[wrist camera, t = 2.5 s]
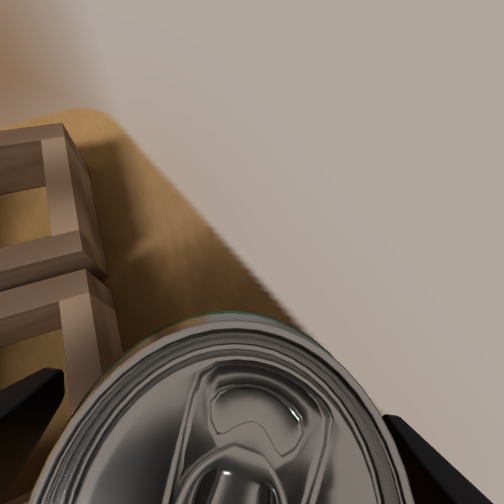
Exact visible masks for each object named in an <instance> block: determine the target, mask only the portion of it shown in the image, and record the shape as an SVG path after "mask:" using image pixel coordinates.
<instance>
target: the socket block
mask: <svg viewBox="0 0 504 504" xmlns="http://www.w3.org/2000/svg"><path fill="white" fill-rule="evenodd" d="M42 186H46V189H47V198H48V207H49V216H50V225H51V234H52V236H50V237H46V238H42V239H37V240H33V241H29V242H25V243H20V244H16V245H12V246H8V247H3V248H0V348H1V347H4V346H7V345H10V344H13V343H16V342H19V341H22V340H26V339H29V338H32V337H35V336H38V335H41V334H44V333H47V332H50V331H54V330H57V329H60V328H62V332H63V341H64V350H65V359H66V368H67V377H68V386H69V395H70V404H71V413H72V415H73V413H74V411H75V410H76V408H77V407H78V405H79V403H80V402H81V400H82V399H83V397H84V396H85V395H86V393H87V392H88V391H89V390H90V388H91V387H92V386H93V385H94V383H95V382H96V381H97V380H98V378H99V377H100V376H101V375H102V373H103V372H104V371H105V370H107V369H108V368H109V367H110V366H111V365H112V364H113V363H114V362H115V361H116V360H117V359H118V358H119V357H120V356H121V355H122V354H123V350H122V344H121V339H120V334H119V329H118V324H117V318H116V313H115V308H114V303H113V298H112V292H111V291H110V290H109V289H108V288H107V287H106V286H104V285H103V284H102V283H101V282H100V281H99V280H98V279H100V278H104V277H107V276H108V272H107V266H106V261H105V256H104V251H103V246H102V240H101V235H100V230H99V225H98V220H97V214H96V209H95V204H94V199H93V194H92V188H91V183H90V178H89V173H88V168H87V164H86V163H85V161H84V159H83V157H82V156H81V154H80V152H79V151H78V149H77V147H76V146H75V144H74V142H73V140H72V139H71V137H70V135H69V134H68V132H67V130H66V129H65V127H64V125H63V123H57V124H49V125H42V126H34V127H27V128H19V129H12V130H4V131H0V194H5V193H10V192H16V191H21V190H26V189H32V188H37V187H42ZM31 492H32V491H29V492H27V493H25V494H23V495H21V496H19V497H16V498H14V499H12V500H10V501H8V502H6V503H3V504H27V503H28V500H29V497H30V494H31Z"/></svg>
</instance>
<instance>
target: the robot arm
mask: <svg viewBox="0 0 504 504" xmlns="http://www.w3.org/2000/svg"><path fill="white" fill-rule="evenodd" d="M64 394H65V387H64V373H63V371H62V370H61V369H56V368H49V367H48V368H43V369H41V370H39V371H37V372H35V373H33V374H31V375H30V376H28V377H26V378H24V379H22V380H20V381H18V382H16V383H14V384H12V385H10V386H8V387H6V388H5V389H3V390H1V391H0V500H1V499H2V497H3V496H4V495H5V493H6V492H7V490H8V489H9V487H10V486H11V485H12V483H13V482H14V480H15V479H16V477H17V476H18V474H19V473H20V471H21V470H22V468H23V467H24V465H25V464H26V462H27V460H28V459H29V457H30V456H31V454H32V452H33V450H34V449H35V447H36V445H37V444H38V442H39V440H40V438H41V437H42V435H43V433H44V432H45V430H46V428H47V426H48V425H49V423H50V421H51V420H52V418H53V416H54V414H55V413H56V411H57V409H58V408H59V406H60V404H61V402H62V400H63V398H64ZM382 418H383V420H384V422H385V424H386V426H387V428H388V430H389V432H390V434H391V435H392V437H393V439H394V442H395V444H396V447H397V450H398V452H399V455H400V457H401V460H402V462H403V465H404V467H405V470H406V474H407V477H408V481H409V485H410V488H411V492H412V496H413V499H414V503H415V504H493V503H492V502H491V501H490V500H489V499H488V498H487V497H485V496H484V495H483V494H482V493H481V492H480V491H479V490H478V489H477V488H476V487H475V486H474V485H473V484H472V483H471V482H469V481H468V480H467V479H466V478H465V477H464V476H463V475H462V474H461V473H460V472H459V471H458V470H456V469H455V468H454V467H453V466H452V465H451V464H450V463H449V462H448V461H447V460H446V459H445V458H444V457H443V456H441V455H440V454H439V453H438V452H437V451H436V450H435V449H434V448H433V447H432V446H431V445H429V444H428V443H427V442H426V441H425V440H424V439H423V438H422V437H421V436H420V435H419V434H418V433H417V432H416V431H415V430H413V429H412V428H411V427H410V426H409V425H408V424H407V423H406V422H405V421H404V420H403V419H402V418H400V417H399V416H395V415H388V414H385V415H383V416H382Z"/></svg>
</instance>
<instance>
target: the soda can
mask: <svg viewBox="0 0 504 504" xmlns="http://www.w3.org/2000/svg"><path fill="white" fill-rule="evenodd" d="M27 504H415V503H414V499H413V496H412V492H411V488H410V485H409V481H408V477H407V474H406V470H405V467H404V465H403V462H402V460H401V457H400V455H399V452H398V450H397V447H396V444H395V442H394V439H393V437H392V435H391V434H390V432H389V430H388V428H387V426H386V424H385V422H384V420H383V418H382V417H381V415H380V413H379V411H378V409H377V408H376V407H375V405H374V404H373V402H372V401H371V399H370V398H369V396H368V395H367V394H366V392H365V391H364V389H363V388H362V386H361V385H360V384H359V383H358V382H357V381H356V380H355V379H354V378H353V377H352V375H351V374H350V373H349V372H348V371H347V370H346V369H345V368H344V367H343V366H342V365H341V364H340V363H339V362H338V361H337V360H336V359H335V358H334V357H333V356H332V355H331V354H330V353H329V352H328V351H327V350H326V349H324V348H323V347H322V346H321V345H320V344H319V343H317V342H316V341H315V340H314V339H313V338H311V337H310V336H308V335H306V334H305V333H303V332H302V331H300V330H298V329H297V328H295V327H294V326H291V325H289V324H287V323H284V322H282V321H280V320H277V319H275V318H272V317H268V316H265V315H261V314H257V313H252V312H242V311H217V312H208V313H203V314H199V315H194V316H189V317H186V318H184V319H181V320H179V321H176V322H173V323H171V324H168V325H166V326H164V327H162V328H160V329H159V330H157V331H155V332H153V333H151V334H150V335H148V336H146V337H144V338H143V339H142V340H140V341H139V342H138V343H136V344H135V345H134V346H132V347H131V348H130V349H128V350H127V351H126V352H124V353H123V354H122V355H121V356H120V357H119V358H118V359H117V360H116V361H115V362H114V363H113V364H112V365H111V366H110V367H109V368H108V369H107V370H105V371H104V372H103V373H102V375H101V376H100V377H99V378H98V380H97V381H96V382H95V383H94V385H93V386H92V387H91V388H90V390H89V391H88V392H87V393H86V395H85V396H84V397H83V399H82V400H81V402H80V403H79V405H78V407H77V408H76V410H75V411H74V413H73V415H72V416H71V418H70V420H69V421H68V423H67V424H66V426H65V428H64V430H63V432H62V434H61V436H60V437H59V439H58V440H57V442H56V444H55V445H54V447H53V449H52V450H51V452H50V453H49V455H48V457H47V460H46V462H45V464H44V466H43V468H42V470H41V472H40V475H39V477H38V479H37V481H36V483H35V485H34V487H33V490H32V492H31V494H30V497H29V500H28V503H27Z"/></svg>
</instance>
